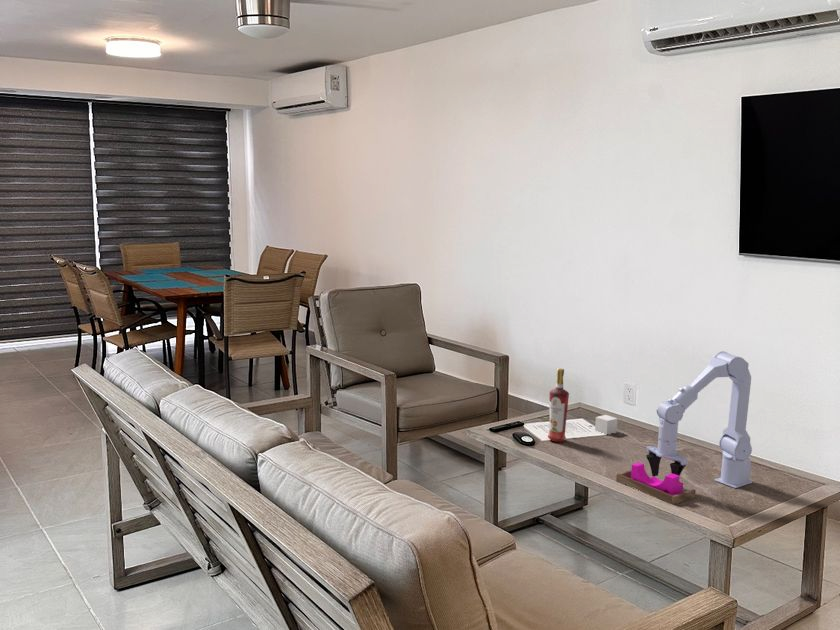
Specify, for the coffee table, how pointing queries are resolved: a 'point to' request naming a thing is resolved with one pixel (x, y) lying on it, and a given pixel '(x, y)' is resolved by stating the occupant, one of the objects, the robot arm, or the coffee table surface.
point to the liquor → (558, 409)
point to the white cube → (606, 424)
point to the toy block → (657, 480)
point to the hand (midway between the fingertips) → (664, 479)
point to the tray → (626, 479)
